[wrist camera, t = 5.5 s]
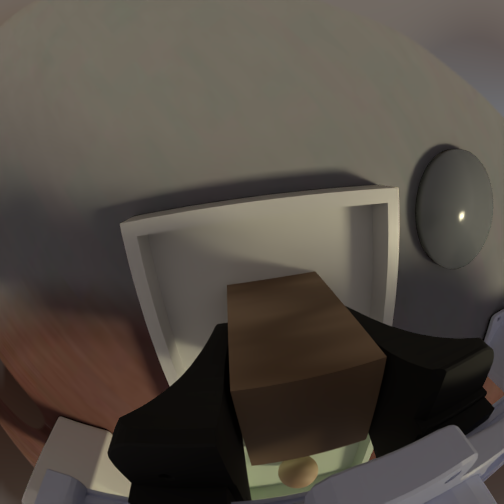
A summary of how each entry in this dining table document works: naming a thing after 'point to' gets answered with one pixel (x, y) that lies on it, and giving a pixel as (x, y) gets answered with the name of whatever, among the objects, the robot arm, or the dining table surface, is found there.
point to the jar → (78, 459)
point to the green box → (329, 463)
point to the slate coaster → (454, 208)
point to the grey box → (259, 258)
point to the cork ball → (298, 472)
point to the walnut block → (299, 368)
